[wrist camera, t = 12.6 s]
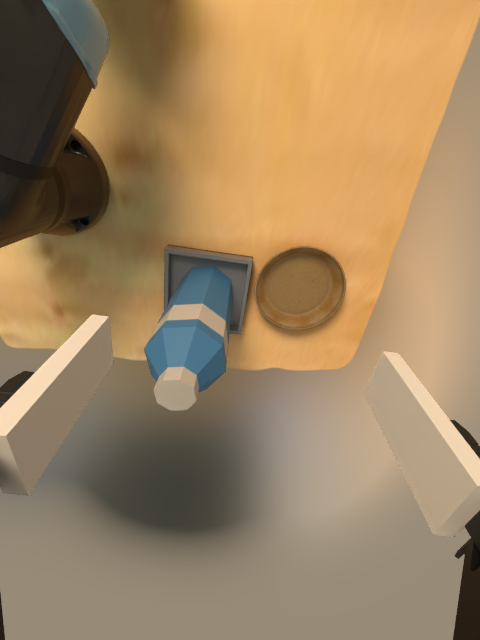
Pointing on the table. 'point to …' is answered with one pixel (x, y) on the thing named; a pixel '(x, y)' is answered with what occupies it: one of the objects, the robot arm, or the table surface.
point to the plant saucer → (300, 288)
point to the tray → (229, 264)
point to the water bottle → (191, 338)
